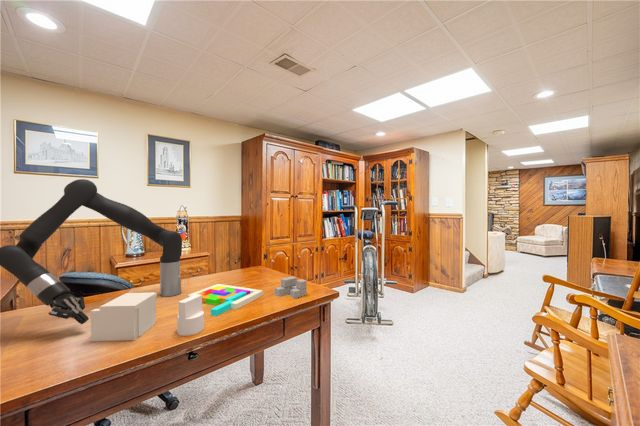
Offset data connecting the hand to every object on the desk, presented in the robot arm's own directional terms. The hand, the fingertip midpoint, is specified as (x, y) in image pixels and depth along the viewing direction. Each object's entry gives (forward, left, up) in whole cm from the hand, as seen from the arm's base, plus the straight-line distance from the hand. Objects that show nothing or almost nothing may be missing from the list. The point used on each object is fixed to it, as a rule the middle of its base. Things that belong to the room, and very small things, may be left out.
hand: (85, 321), depth 97 cm
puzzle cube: (-82, +5, -4) cm, 82 cm away
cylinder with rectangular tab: (-32, +19, -4) cm, 37 cm away
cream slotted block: (-12, +7, -4) cm, 14 cm away
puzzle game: (-49, -7, -5) cm, 50 cm away
